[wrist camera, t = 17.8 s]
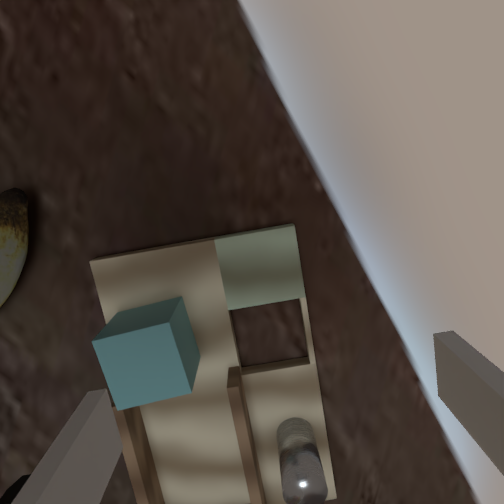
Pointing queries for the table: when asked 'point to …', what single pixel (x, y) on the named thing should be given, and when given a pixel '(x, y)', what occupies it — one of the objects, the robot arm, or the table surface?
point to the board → (220, 360)
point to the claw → (12, 239)
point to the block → (148, 353)
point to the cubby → (142, 459)
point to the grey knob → (300, 463)
